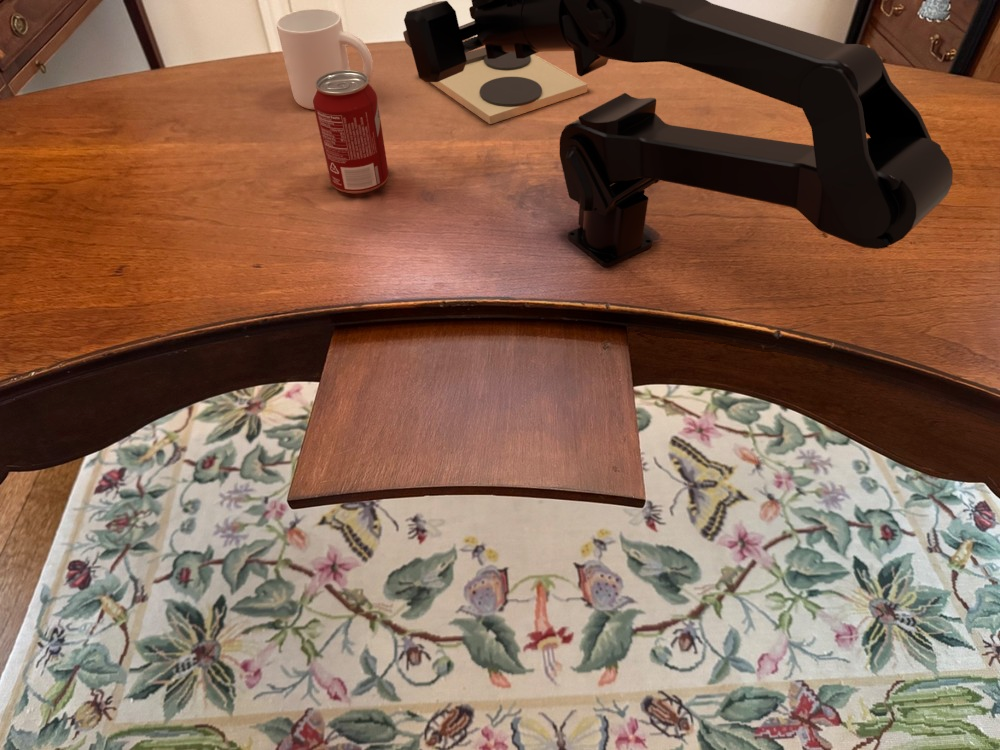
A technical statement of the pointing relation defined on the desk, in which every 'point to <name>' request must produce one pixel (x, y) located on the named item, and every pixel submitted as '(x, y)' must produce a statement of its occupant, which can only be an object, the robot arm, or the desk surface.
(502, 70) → the hob
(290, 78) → the mug
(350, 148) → the soda can
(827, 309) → the desk surface
